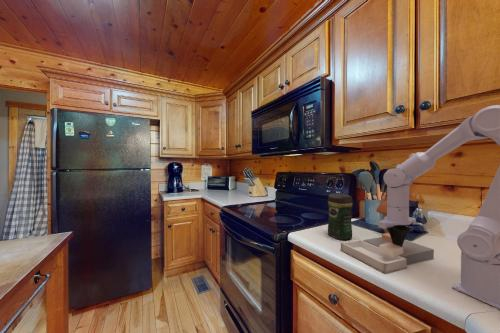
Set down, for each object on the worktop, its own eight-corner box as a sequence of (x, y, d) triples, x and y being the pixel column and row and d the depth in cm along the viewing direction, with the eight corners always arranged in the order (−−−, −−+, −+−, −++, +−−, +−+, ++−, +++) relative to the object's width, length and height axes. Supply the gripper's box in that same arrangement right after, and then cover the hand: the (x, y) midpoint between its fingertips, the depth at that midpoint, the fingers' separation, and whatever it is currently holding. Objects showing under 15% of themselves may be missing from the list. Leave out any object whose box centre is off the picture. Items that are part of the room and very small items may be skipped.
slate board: (433, 258, 66) (433, 249, 66) (402, 266, 61) (402, 256, 61) (391, 242, 79) (391, 235, 79) (363, 248, 74) (363, 240, 74)
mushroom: (371, 231, 93) (372, 199, 93) (383, 229, 96) (384, 198, 95) (389, 237, 85) (389, 202, 85) (401, 235, 88) (401, 201, 88)
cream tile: (403, 253, 63) (403, 247, 63) (392, 257, 61) (392, 250, 61) (389, 248, 67) (389, 242, 67) (379, 251, 66) (379, 245, 65)
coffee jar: (356, 239, 83) (356, 194, 83) (341, 241, 81) (341, 195, 80) (338, 231, 92) (338, 191, 92) (324, 234, 90) (324, 192, 89)
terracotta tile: (402, 242, 72) (402, 236, 72) (393, 243, 71) (393, 238, 71) (390, 237, 77) (390, 232, 77) (381, 239, 75) (381, 234, 75)
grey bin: (406, 268, 60) (406, 258, 60) (384, 273, 57) (384, 264, 57) (359, 246, 75) (359, 239, 75) (340, 250, 72) (340, 242, 72)
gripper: (400, 202, 71) (399, 240, 71) (369, 205, 66) (369, 246, 66) (423, 206, 64) (422, 248, 64) (391, 210, 59) (390, 255, 59)
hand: (397, 248), depth 65 cm, fingers closed
